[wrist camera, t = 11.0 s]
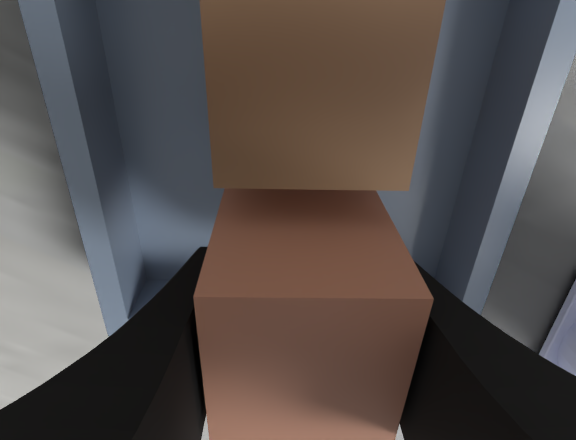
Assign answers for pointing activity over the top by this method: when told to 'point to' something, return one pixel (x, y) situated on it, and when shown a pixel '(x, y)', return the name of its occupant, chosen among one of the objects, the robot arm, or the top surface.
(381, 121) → the tan block
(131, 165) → the tray
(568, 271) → the top surface
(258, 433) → the terracotta block
